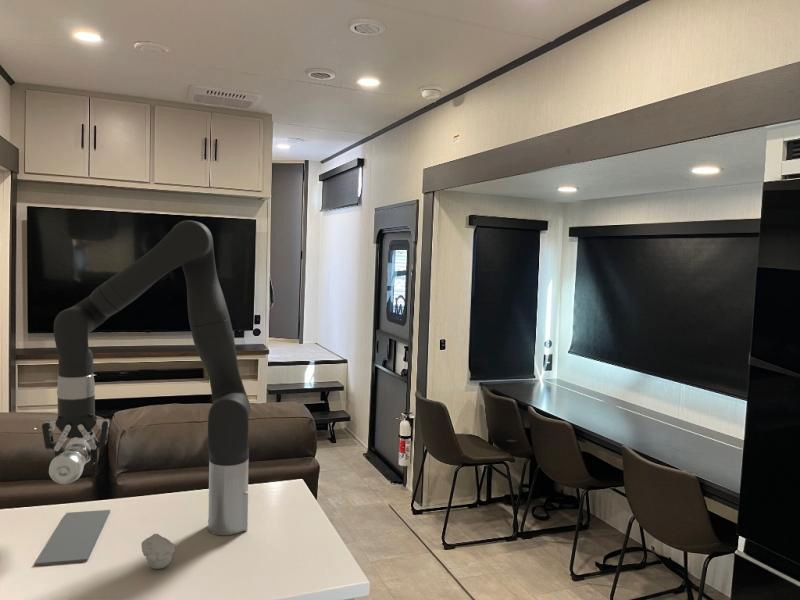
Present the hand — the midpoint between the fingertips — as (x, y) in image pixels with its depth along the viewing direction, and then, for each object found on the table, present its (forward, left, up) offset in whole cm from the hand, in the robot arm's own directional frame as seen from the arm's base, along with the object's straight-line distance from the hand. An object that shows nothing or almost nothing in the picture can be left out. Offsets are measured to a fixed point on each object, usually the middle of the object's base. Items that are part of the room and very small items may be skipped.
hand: (77, 464), depth 140 cm
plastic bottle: (0, +11, +2) cm, 12 cm away
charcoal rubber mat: (0, +1, -17) cm, 17 cm away
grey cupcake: (-20, +18, -17) cm, 32 cm away
